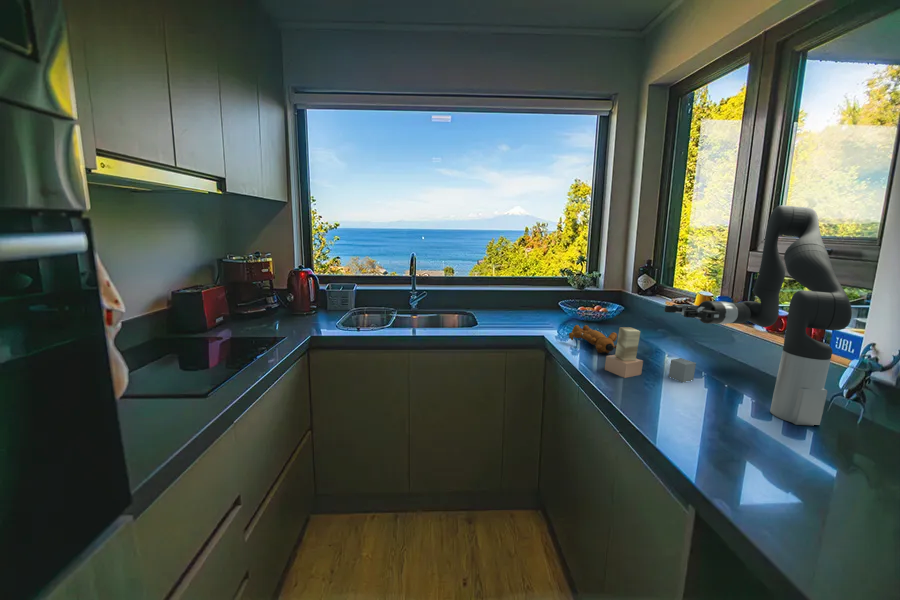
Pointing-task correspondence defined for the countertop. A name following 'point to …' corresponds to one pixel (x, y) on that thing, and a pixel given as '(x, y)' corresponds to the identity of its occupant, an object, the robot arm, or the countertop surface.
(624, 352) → the beech pillar
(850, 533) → the countertop surface
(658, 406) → the countertop surface
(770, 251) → the robot arm
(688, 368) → the grey block
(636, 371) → the terracotta block
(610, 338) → the toy
